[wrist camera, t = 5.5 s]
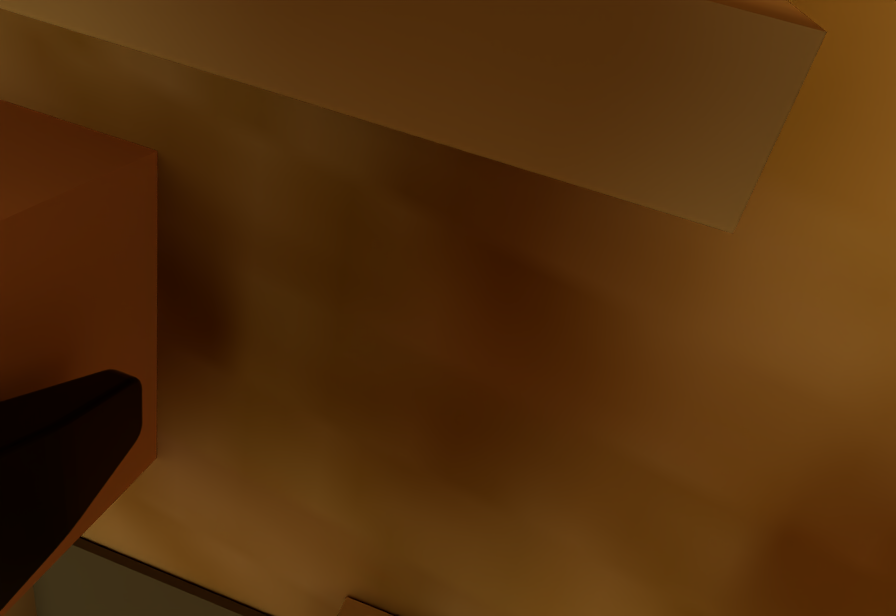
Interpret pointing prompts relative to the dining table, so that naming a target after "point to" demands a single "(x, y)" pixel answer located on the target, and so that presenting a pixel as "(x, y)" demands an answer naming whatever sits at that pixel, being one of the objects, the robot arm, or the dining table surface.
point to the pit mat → (121, 589)
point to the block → (77, 273)
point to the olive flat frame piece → (510, 84)
